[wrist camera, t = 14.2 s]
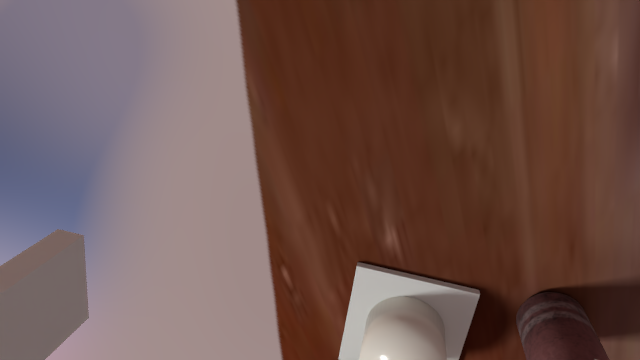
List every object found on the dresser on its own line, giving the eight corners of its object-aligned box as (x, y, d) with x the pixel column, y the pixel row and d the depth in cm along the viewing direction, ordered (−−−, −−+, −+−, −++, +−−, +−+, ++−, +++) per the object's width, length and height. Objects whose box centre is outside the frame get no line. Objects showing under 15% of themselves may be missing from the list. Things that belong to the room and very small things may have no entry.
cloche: (373, 288, 47) (364, 338, 41) (454, 308, 46) (459, 363, 39) (359, 349, 51) (348, 406, 44) (434, 369, 50) (435, 430, 43)
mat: (358, 261, 48) (356, 266, 47) (479, 289, 46) (479, 294, 45) (339, 354, 52) (338, 359, 52) (449, 382, 51) (449, 388, 50)
